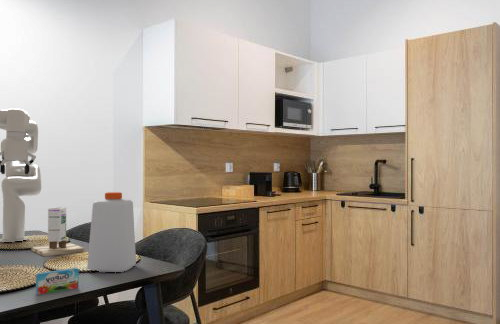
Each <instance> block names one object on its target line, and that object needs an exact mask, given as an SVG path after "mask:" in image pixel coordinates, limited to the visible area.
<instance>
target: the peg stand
mask: <svg viewBox="0 0 500 324" xmlns="http://www.w3.org/2000/svg"><path fill="white" fill-rule="evenodd" d="M48 243H49V244H46V245H36V246H35V245H34V246H30V251H32V252H34V253H36V254H38V255H40V256H42V257H49V256H58V255H59V256H60V255H67V254H76V253H77V254H78V253H84V252H85V247H82V246H79V245H78V244H74V243H72V242H67V239H66V240H63V241H61V242H50V241H48ZM83 251H84V252H83Z"/></svg>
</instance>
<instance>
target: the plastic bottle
mask: <svg viewBox="0 0 500 324" xmlns="http://www.w3.org/2000/svg"><path fill="white" fill-rule="evenodd" d="M134 218H135V217H134V202H133V201H132V200H131V199H125V198H123V193H122V192H120V191H112V192H111V191H108V192H107V191H106V192H105V193H104V199H100V200H95V201H94V202H93V203H92V210H91V222H90V229H89V231H90V232H89V242H88V243H89V245H88V255H87V266H86V269H87V270H88V269H91V270H97V271H99V272H98V273H105V272H115V273H114V274H117V273H116V272H121V273H125V272H127V271H129V270H131V269H132V268H134V267H135V266H136V264H137V257H136V255H137V254H136V240H135V239H136V238H135V237H136V236H135V219H134ZM133 266H134V267H133ZM124 271H125V272H124Z"/></svg>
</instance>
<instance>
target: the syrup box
mask: <svg viewBox="0 0 500 324" xmlns="http://www.w3.org/2000/svg"><path fill="white" fill-rule="evenodd" d="M64 240H66V241H67V207H65V206H63V207H62V206H55V207H50V208H47V242H49V241H50V242H57V243H59V242H61V241H64Z"/></svg>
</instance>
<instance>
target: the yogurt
mask: <svg viewBox="0 0 500 324" xmlns="http://www.w3.org/2000/svg"><path fill="white" fill-rule="evenodd" d="M79 274H80V269H79V268H77V267H74V268H73V267H72V268H67V269H66V268H65V269H57V270H52V271H45V272H38V273H36V274H35V295H37V296H43V295H48V294H54V293H59V292H65V291H71V290H77V289H78V288H79V287H80V286H79V279H80V275H79Z"/></svg>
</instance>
